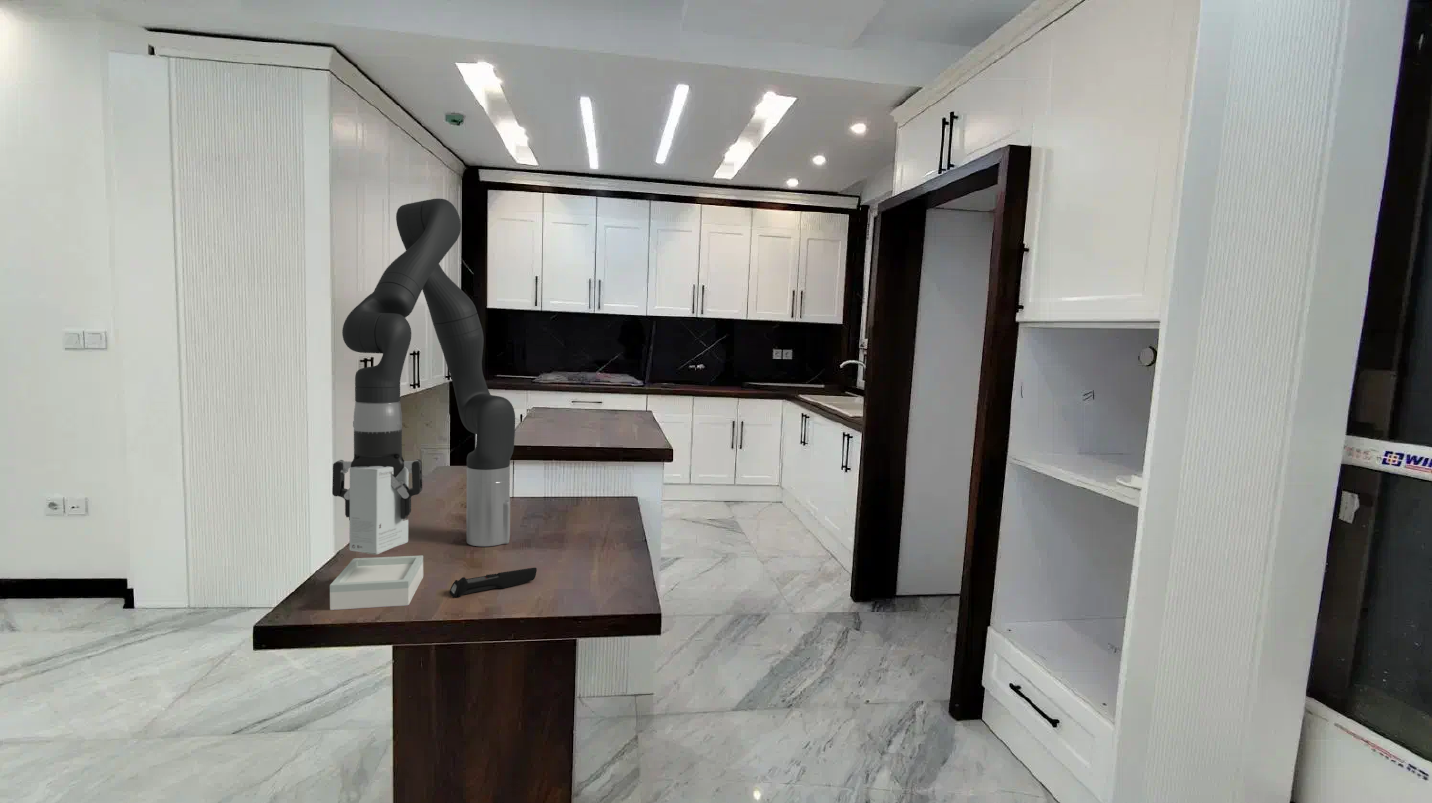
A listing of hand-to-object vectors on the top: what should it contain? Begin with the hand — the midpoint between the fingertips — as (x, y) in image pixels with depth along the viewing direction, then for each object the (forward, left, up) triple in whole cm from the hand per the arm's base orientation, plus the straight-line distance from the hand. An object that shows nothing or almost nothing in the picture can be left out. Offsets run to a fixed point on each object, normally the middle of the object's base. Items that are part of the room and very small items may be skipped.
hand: (378, 518), depth 117 cm
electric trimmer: (-19, +1, -14) cm, 24 cm away
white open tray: (0, 0, -13) cm, 13 cm away
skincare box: (0, 0, -5) cm, 5 cm away
